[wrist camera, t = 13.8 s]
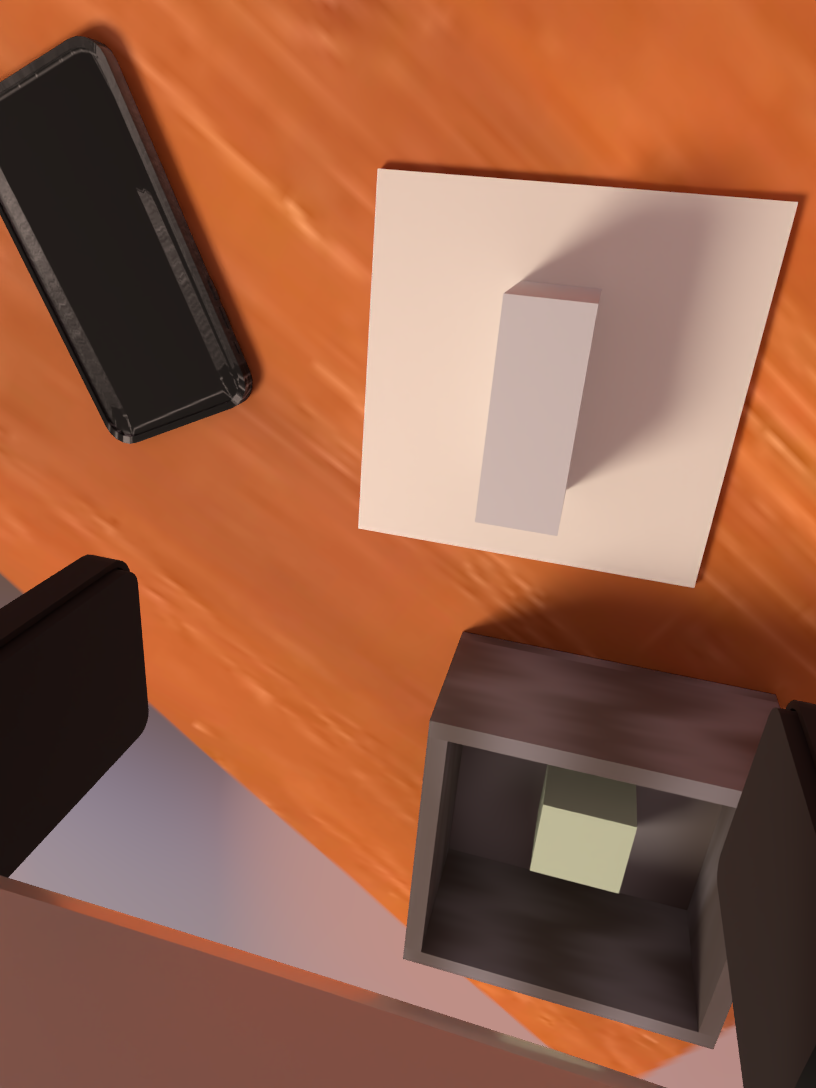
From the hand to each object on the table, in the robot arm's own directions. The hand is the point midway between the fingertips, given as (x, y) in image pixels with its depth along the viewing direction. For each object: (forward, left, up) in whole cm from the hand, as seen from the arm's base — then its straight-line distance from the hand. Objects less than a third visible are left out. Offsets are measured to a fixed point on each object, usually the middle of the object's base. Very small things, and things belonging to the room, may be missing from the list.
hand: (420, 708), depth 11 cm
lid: (0, 0, -23) cm, 23 cm away
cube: (-5, +19, -21) cm, 29 cm away
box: (-5, +19, -22) cm, 29 cm away
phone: (+19, -3, -22) cm, 30 cm away
